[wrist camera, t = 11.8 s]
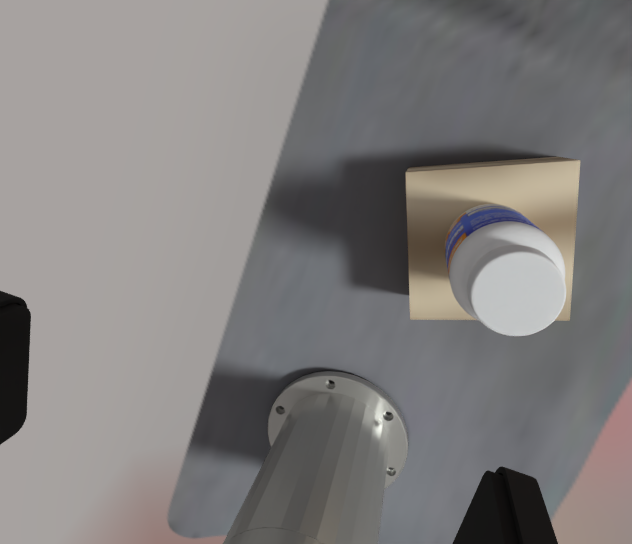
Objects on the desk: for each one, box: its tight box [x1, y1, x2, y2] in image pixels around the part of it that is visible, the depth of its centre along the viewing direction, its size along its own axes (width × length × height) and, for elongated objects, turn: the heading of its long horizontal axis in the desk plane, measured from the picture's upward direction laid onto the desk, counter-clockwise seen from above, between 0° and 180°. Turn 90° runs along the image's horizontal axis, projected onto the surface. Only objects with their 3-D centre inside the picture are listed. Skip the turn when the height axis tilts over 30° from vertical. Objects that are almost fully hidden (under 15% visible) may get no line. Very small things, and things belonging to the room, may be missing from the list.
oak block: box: [406, 157, 580, 321], centre depth 32 cm, size 10×10×5 cm
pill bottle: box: [445, 204, 566, 336], centre depth 25 cm, size 5×5×10 cm
